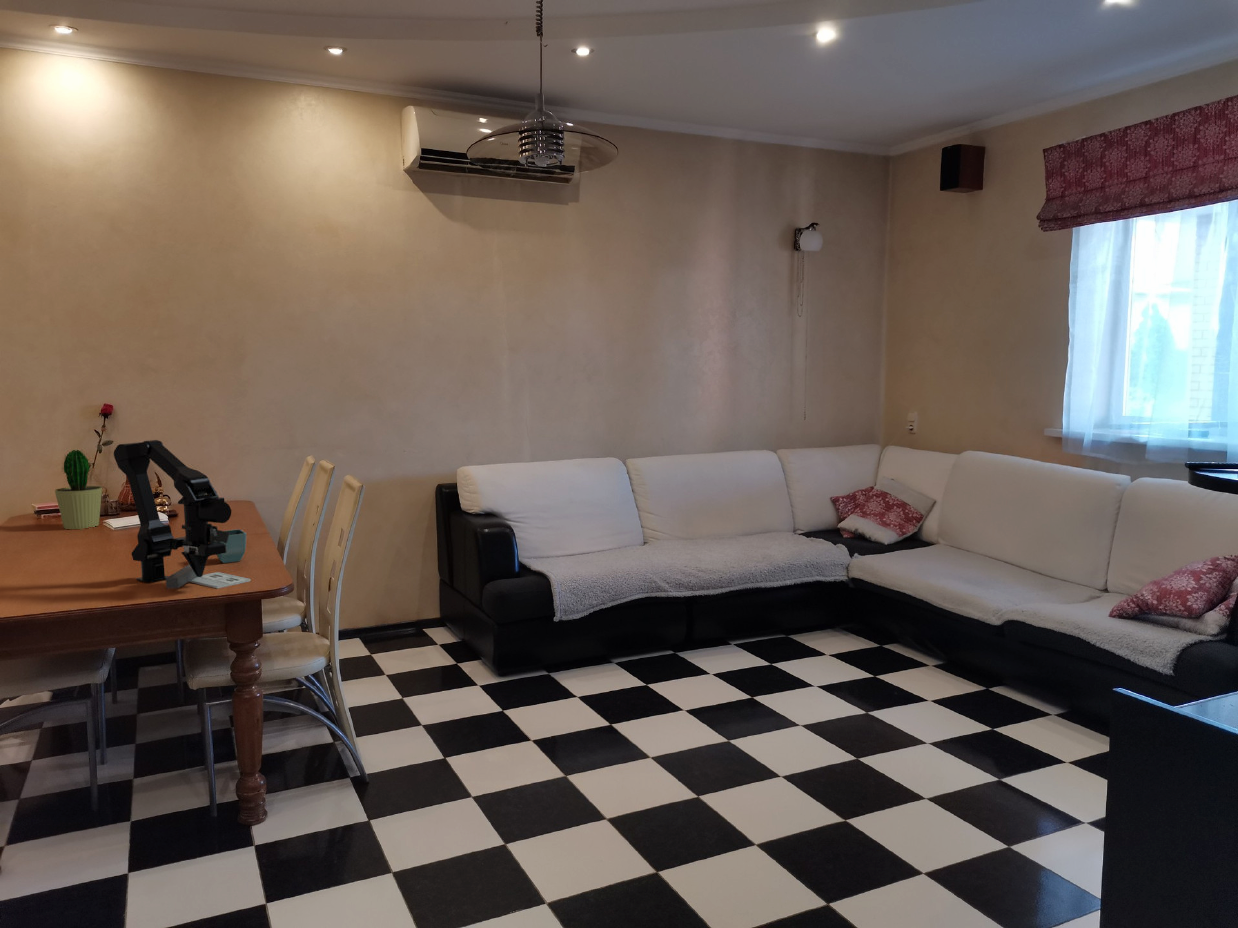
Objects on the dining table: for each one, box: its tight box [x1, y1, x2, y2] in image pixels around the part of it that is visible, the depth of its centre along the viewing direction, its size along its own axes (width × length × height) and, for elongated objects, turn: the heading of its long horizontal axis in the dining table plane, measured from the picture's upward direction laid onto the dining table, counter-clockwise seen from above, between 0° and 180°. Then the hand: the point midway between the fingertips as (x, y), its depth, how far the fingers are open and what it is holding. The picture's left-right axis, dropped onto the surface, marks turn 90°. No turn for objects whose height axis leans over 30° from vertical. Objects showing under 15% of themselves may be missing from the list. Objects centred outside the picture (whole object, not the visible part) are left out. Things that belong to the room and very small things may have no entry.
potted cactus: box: [54, 449, 103, 530], centre depth 334 cm, size 15×15×30 cm
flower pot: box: [214, 529, 247, 564], centre depth 274 cm, size 9×9×9 cm
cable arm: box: [165, 563, 196, 589], centre depth 246 cm, size 20×3×3 cm, turn 6°
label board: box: [188, 571, 251, 590], centre depth 250 cm, size 19×10×1 cm, turn 56°
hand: (199, 576), depth 243 cm, fingers closed
